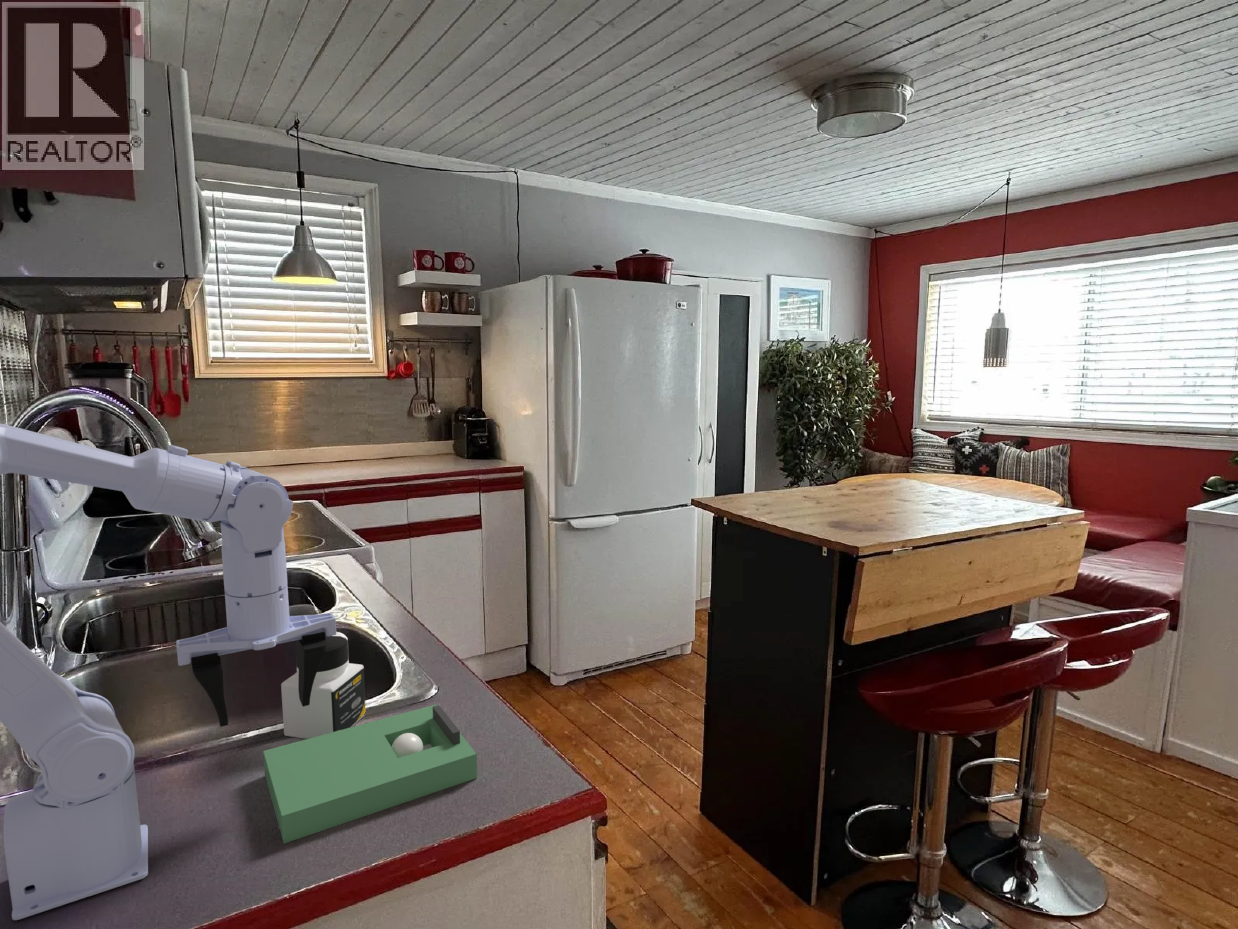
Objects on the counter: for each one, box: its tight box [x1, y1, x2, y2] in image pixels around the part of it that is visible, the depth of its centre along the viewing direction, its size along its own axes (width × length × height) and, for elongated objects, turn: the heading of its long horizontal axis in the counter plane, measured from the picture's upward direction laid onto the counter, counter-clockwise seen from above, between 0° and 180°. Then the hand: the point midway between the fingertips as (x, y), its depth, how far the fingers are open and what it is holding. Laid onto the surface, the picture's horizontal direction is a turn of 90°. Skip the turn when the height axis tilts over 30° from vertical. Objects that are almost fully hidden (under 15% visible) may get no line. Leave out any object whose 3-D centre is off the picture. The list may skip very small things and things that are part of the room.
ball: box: [392, 733, 423, 758], centre depth 81 cm, size 4×4×4 cm
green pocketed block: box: [262, 704, 478, 844], centre depth 79 cm, size 20×13×4 cm, turn 124°
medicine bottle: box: [280, 631, 367, 740], centre depth 89 cm, size 7×7×12 cm
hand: (265, 711), depth 74 cm, fingers open, 7 cm apart
